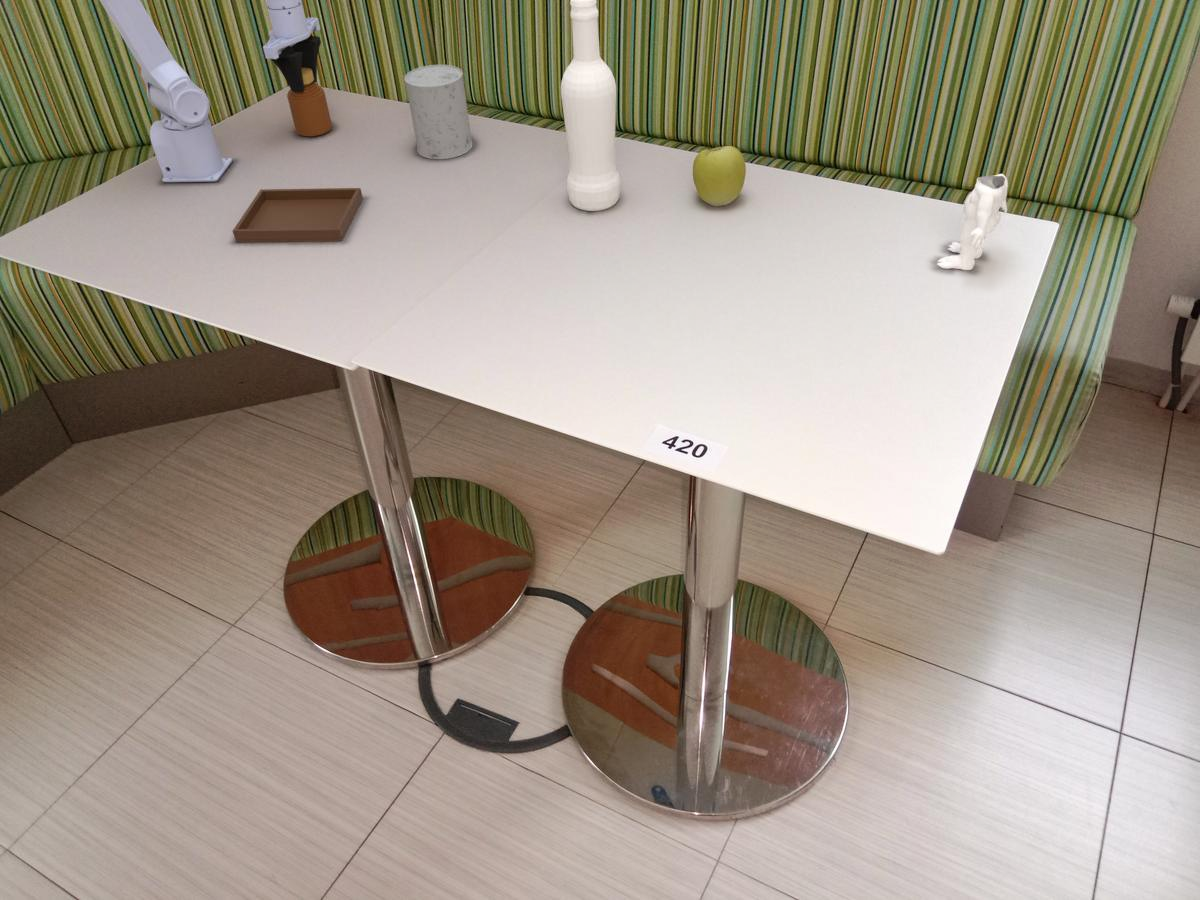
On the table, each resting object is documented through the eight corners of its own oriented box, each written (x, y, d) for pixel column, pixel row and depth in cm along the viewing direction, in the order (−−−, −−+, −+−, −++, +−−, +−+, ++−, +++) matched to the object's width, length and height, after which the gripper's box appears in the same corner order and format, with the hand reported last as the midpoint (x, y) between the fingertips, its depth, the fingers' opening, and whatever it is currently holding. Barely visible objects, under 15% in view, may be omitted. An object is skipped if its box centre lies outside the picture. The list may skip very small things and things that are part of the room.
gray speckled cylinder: (438, 164, 161) (426, 91, 153) (406, 147, 167) (392, 76, 159) (483, 146, 166) (474, 74, 158) (451, 130, 171) (440, 60, 163)
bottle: (615, 214, 146) (607, 5, 126) (562, 211, 147) (546, 4, 127) (624, 189, 152) (618, -14, 132) (574, 186, 153) (560, -15, 133)
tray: (236, 242, 145) (232, 231, 143) (263, 200, 155) (260, 189, 153) (341, 241, 144) (338, 229, 142) (363, 198, 153) (360, 187, 152)
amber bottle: (291, 136, 172) (278, 82, 165) (301, 121, 176) (288, 68, 170) (327, 135, 171) (314, 81, 165) (336, 121, 176) (324, 67, 170)
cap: (306, 86, 166) (304, 76, 165) (287, 84, 167) (284, 75, 166) (318, 77, 169) (316, 68, 168) (298, 76, 170) (296, 66, 169)
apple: (754, 204, 144) (737, 143, 138) (702, 219, 146) (683, 160, 140) (751, 180, 150) (735, 120, 144) (702, 195, 152) (683, 137, 146)
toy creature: (956, 236, 137) (974, 156, 129) (999, 246, 134) (1021, 165, 126) (927, 275, 130) (945, 193, 122) (972, 287, 127) (993, 204, 119)
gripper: (286, -11, 166) (305, 69, 175) (238, 17, 156) (261, 100, 165) (322, -9, 164) (340, 72, 173) (276, 20, 154) (298, 104, 163)
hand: (304, 86), depth 169 cm, fingers closed on cap, 4 cm apart
